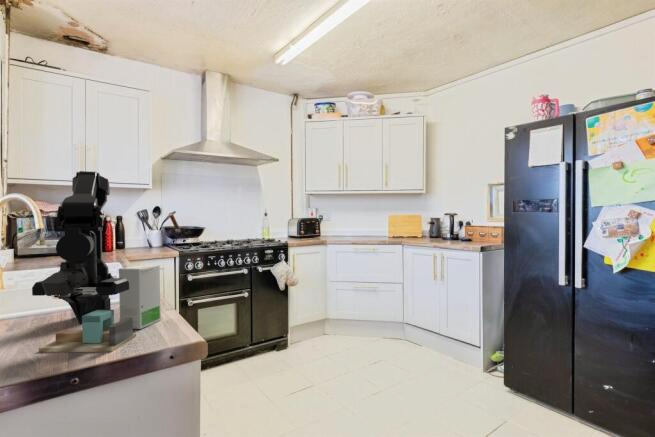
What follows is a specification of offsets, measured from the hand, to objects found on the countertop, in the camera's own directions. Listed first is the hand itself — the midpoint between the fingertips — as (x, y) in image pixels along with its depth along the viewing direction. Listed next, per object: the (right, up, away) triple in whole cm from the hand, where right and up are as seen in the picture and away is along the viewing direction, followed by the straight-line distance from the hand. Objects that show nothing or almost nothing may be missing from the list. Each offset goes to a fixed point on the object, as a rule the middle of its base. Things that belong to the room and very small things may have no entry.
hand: (82, 324), depth 78 cm
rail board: (+2, -5, 0) cm, 5 cm away
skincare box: (+6, -4, +14) cm, 15 cm away
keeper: (+4, -3, 0) cm, 5 cm away
